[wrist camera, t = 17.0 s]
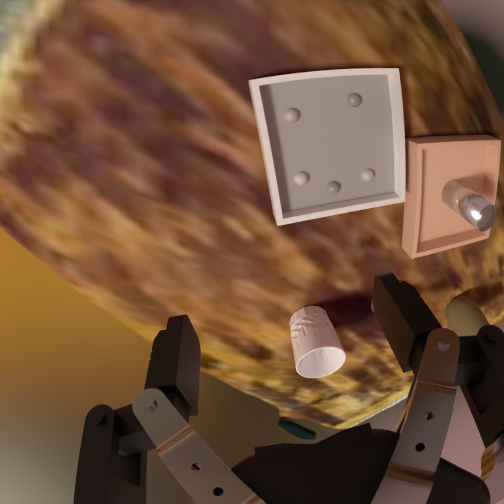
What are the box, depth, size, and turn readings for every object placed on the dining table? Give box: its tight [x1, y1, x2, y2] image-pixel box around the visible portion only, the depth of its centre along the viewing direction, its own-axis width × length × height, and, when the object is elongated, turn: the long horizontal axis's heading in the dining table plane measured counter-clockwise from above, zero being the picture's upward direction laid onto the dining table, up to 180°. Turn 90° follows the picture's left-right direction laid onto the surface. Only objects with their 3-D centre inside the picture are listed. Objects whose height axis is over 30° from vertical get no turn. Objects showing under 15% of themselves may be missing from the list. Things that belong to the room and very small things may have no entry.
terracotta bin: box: [402, 135, 501, 259], centre depth 39 cm, size 18×18×4 cm
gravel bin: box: [248, 68, 405, 226], centre depth 34 cm, size 18×18×4 cm
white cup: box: [290, 306, 346, 378], centre depth 48 cm, size 8×8×10 cm
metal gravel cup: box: [442, 180, 496, 232], centre depth 36 cm, size 4×4×9 cm
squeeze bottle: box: [446, 295, 490, 336], centre depth 47 cm, size 8×8×18 cm
